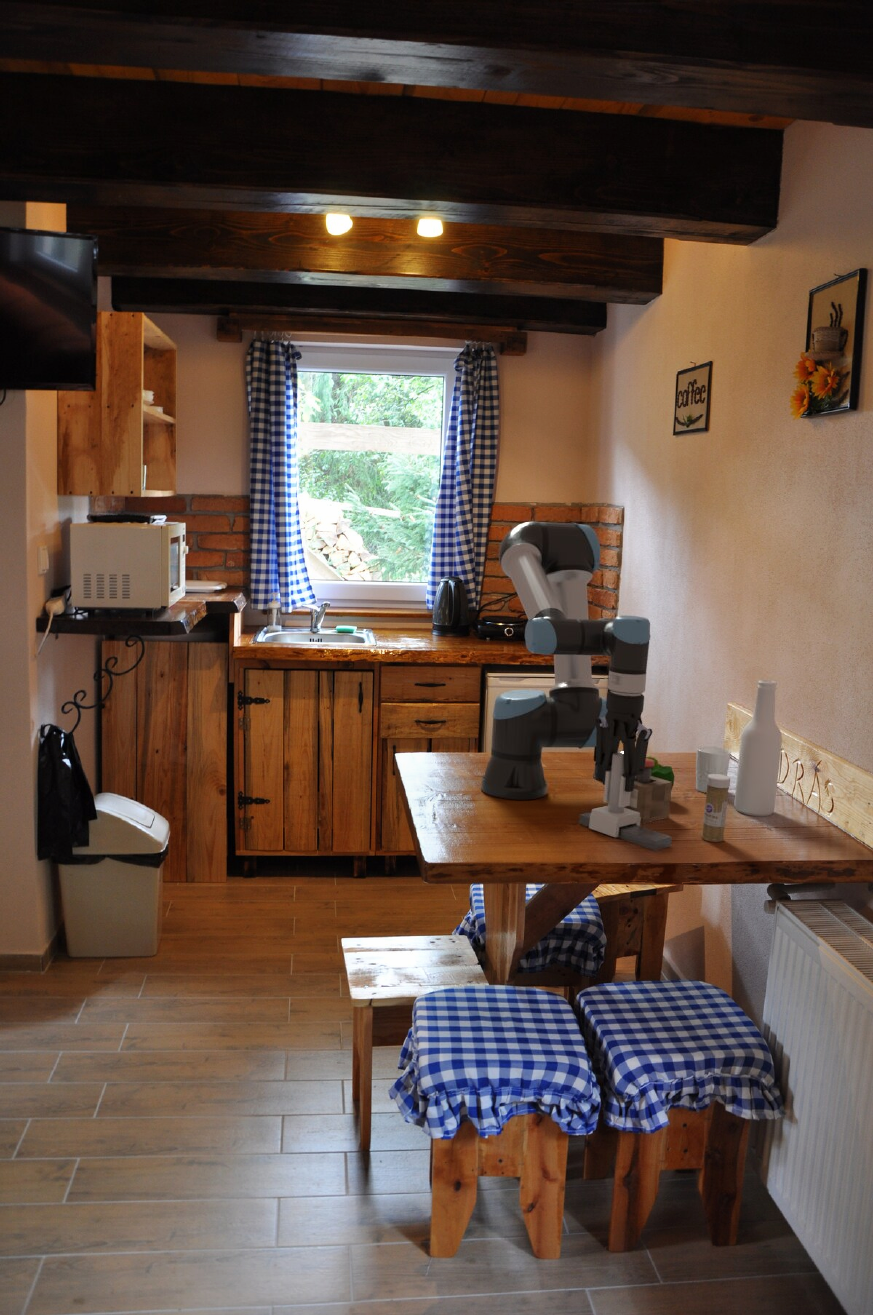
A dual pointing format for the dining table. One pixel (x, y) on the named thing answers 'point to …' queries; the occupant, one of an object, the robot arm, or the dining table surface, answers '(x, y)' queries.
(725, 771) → the white cup
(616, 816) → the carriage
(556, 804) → the dining table surface
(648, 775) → the red button
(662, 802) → the button box
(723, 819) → the sprinkles bottle
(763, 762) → the alcohol
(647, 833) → the rail
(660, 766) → the bell pepper
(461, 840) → the dining table surface
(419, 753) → the dining table surface
